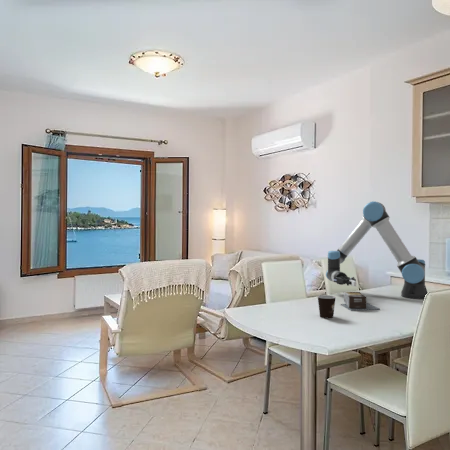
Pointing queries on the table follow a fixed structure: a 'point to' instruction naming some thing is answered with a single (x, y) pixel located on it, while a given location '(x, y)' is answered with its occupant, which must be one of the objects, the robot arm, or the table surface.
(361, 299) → the coffee box
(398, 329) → the table surface
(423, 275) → the robot arm
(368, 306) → the mat
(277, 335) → the table surface
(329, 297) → the coffee mug
